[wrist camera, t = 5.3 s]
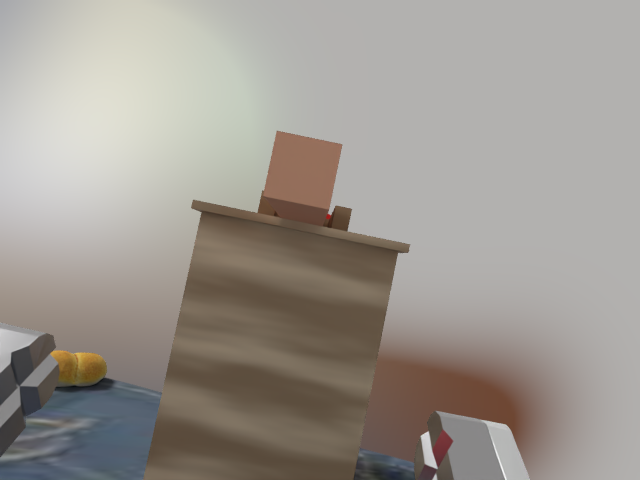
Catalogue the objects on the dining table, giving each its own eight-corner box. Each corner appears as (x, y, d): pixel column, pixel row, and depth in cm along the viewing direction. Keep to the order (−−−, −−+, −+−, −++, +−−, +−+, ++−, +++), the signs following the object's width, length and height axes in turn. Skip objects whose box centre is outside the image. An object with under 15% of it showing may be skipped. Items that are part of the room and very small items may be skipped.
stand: (321, 697, 23) (416, 211, 24) (93, 653, 22) (200, 166, 24) (317, 507, 40) (372, 229, 41) (187, 482, 39) (246, 203, 41)
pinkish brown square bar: (329, 209, 15) (342, 144, 15) (263, 196, 15) (276, 130, 15) (318, 237, 39) (323, 212, 39) (293, 232, 39) (298, 207, 39)
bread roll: (109, 388, 58) (115, 360, 58) (34, 390, 52) (41, 360, 52) (99, 368, 64) (105, 343, 64) (31, 368, 59) (38, 341, 59)
